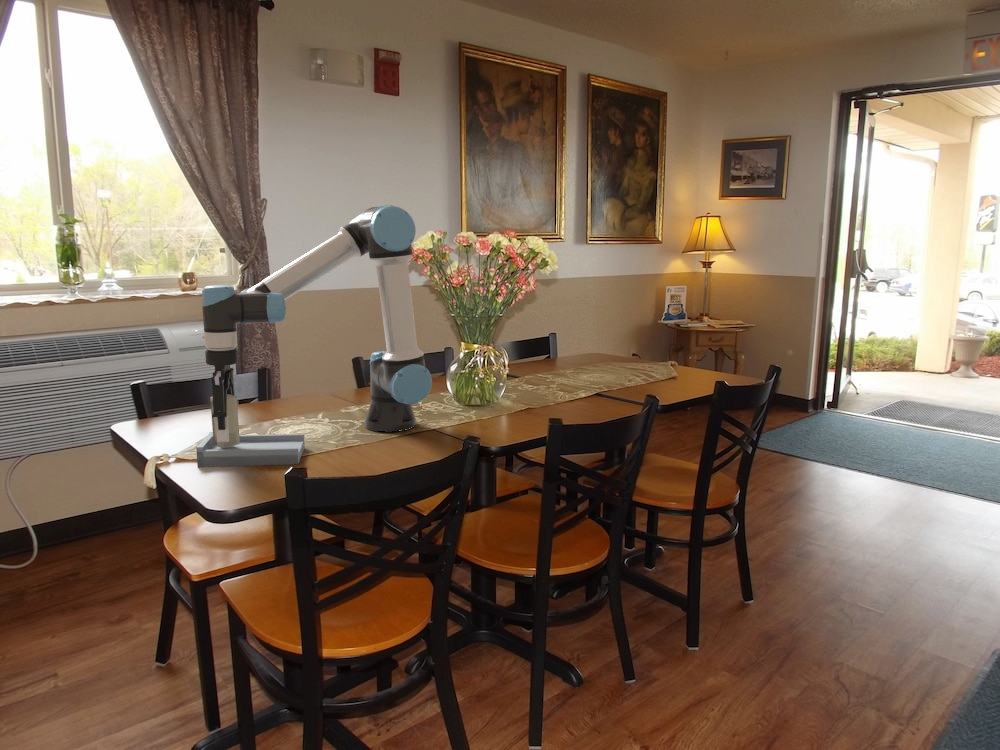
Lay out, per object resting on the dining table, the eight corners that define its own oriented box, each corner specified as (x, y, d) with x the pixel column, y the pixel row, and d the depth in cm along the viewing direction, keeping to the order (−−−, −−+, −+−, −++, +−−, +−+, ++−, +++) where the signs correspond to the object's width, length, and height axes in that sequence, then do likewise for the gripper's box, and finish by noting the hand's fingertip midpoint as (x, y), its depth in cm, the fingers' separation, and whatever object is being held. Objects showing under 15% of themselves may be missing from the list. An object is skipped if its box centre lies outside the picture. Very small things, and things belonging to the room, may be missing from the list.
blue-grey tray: (304, 448, 193) (304, 430, 192) (298, 464, 179) (297, 444, 178) (211, 450, 189) (210, 432, 188) (197, 467, 175) (196, 447, 174)
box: (231, 441, 186) (228, 393, 183) (240, 445, 183) (238, 395, 181) (212, 445, 182) (209, 396, 179) (221, 449, 179) (218, 398, 177)
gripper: (214, 342, 186) (219, 428, 191) (195, 354, 168) (201, 449, 172) (244, 342, 188) (248, 427, 192) (228, 354, 169) (233, 448, 173)
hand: (226, 437), depth 182 cm, fingers closed on box, 6 cm apart
